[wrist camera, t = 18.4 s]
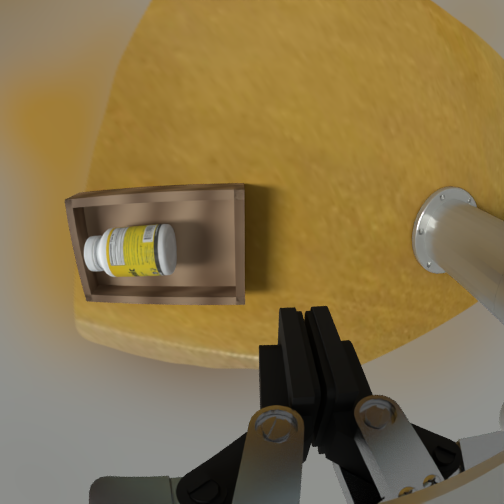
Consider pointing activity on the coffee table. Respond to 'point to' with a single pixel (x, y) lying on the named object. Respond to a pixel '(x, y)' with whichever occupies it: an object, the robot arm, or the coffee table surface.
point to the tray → (187, 242)
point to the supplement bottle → (133, 251)
